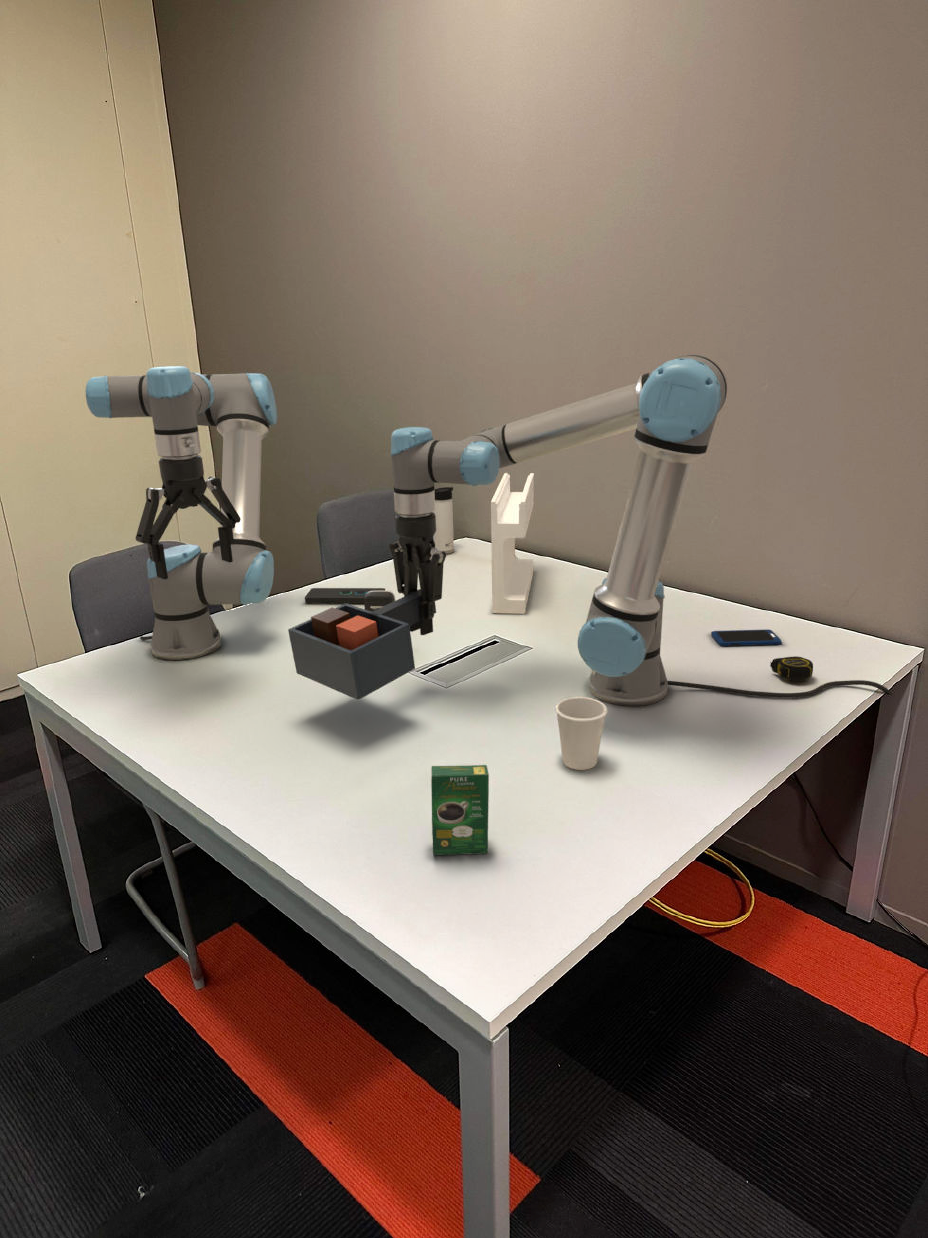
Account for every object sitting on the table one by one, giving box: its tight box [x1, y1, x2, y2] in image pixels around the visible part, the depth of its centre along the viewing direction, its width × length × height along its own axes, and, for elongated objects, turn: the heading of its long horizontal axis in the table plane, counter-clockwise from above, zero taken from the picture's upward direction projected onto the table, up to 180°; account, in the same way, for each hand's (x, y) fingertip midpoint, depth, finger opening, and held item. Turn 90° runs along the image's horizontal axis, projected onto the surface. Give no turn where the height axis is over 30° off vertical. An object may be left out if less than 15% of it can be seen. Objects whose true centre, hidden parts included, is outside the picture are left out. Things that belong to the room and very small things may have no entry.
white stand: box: [490, 472, 535, 615], centre depth 222 cm, size 35×8×28 cm, turn 172°
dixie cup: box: [555, 696, 608, 771], centre depth 141 cm, size 8×8×10 cm
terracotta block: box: [336, 616, 378, 651], centre depth 151 cm, size 5×5×10 cm
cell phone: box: [710, 629, 782, 647], centre depth 191 cm, size 7×14×1 cm, turn 91°
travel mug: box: [433, 486, 455, 555], centre depth 260 cm, size 6×7×20 cm
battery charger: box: [363, 590, 396, 612], centre depth 195 cm, size 7×4×11 cm, turn 86°
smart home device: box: [304, 587, 386, 605], centre depth 224 cm, size 8×2×20 cm
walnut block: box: [310, 607, 350, 646], centre depth 155 cm, size 5×5×10 cm
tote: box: [287, 588, 437, 701], centre depth 158 cm, size 27×18×9 cm, turn 137°
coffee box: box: [430, 764, 490, 856], centre depth 119 cm, size 8×3×13 cm, turn 92°
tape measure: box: [769, 655, 814, 682], centre depth 171 cm, size 7×7×4 cm
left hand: (195, 569), depth 161 cm, fingers open, 13 cm apart
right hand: (421, 631), depth 166 cm, fingers closed on tote, 2 cm apart
